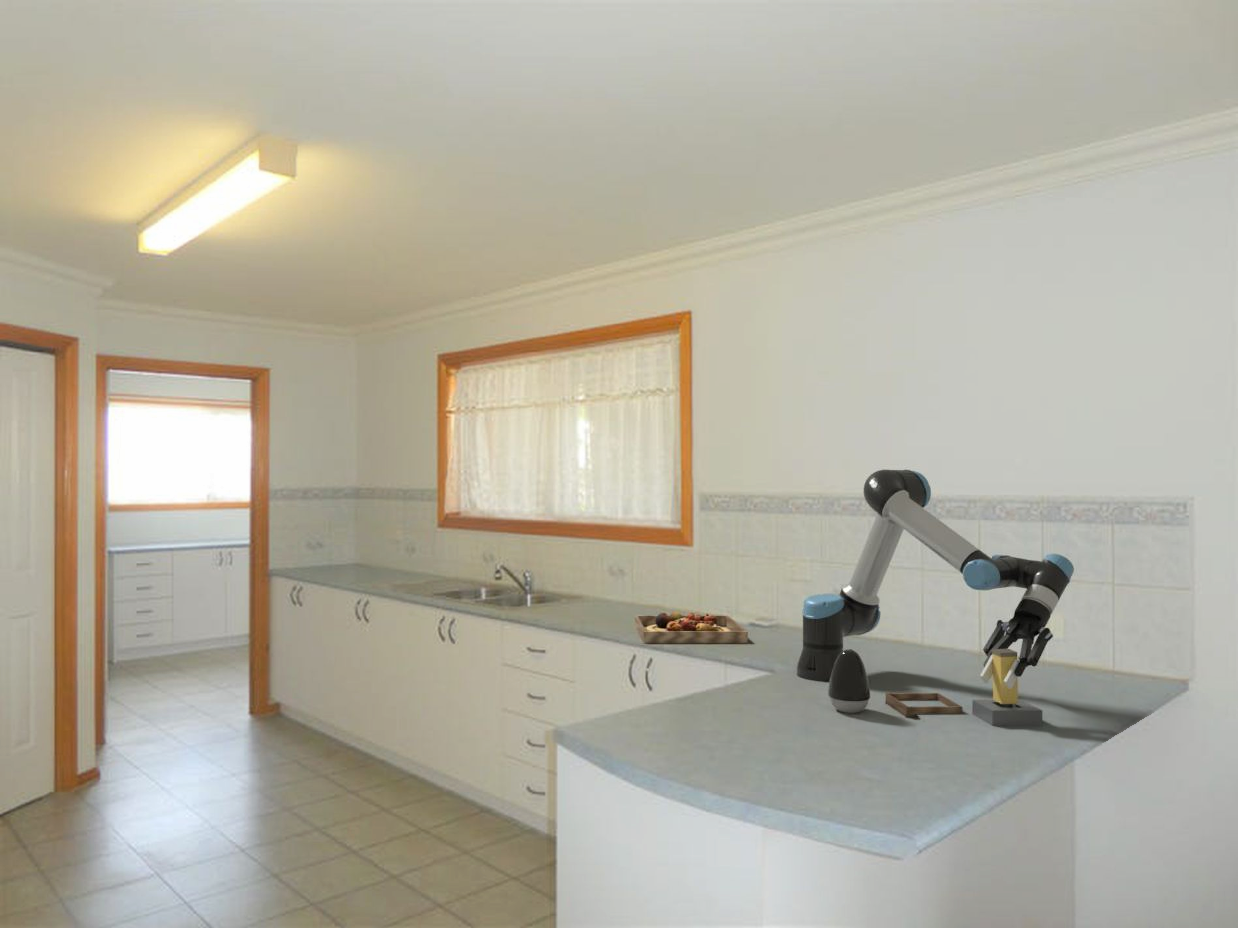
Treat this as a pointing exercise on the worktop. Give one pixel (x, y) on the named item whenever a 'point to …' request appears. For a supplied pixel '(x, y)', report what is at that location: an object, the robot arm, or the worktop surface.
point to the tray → (911, 712)
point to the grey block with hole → (1007, 713)
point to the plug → (1003, 676)
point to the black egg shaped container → (849, 683)
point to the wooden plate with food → (685, 623)
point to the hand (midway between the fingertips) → (995, 682)
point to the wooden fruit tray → (691, 632)
